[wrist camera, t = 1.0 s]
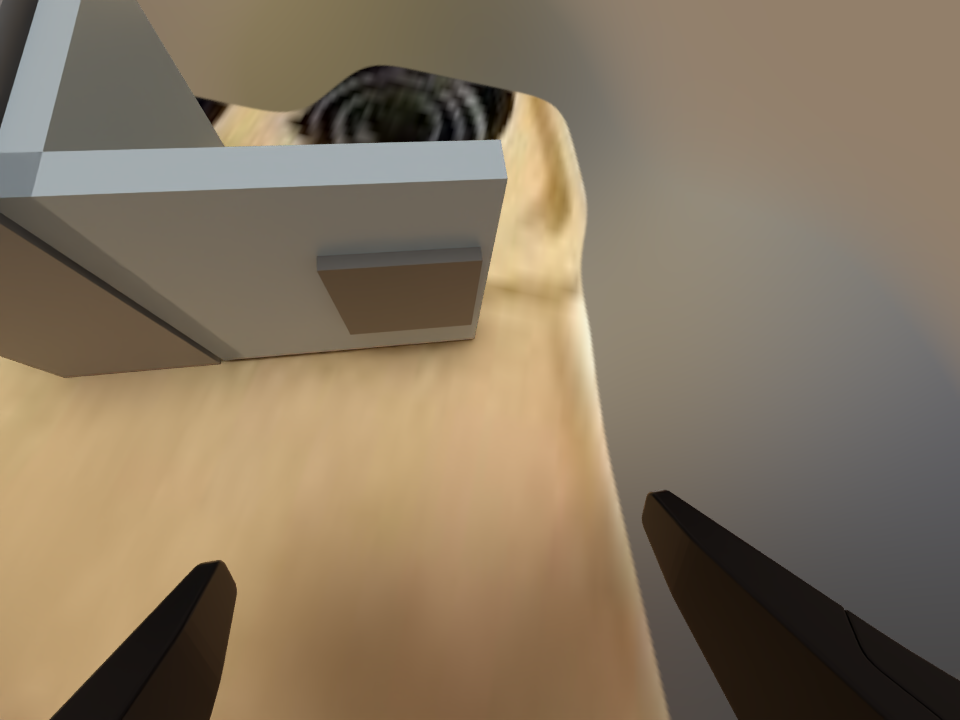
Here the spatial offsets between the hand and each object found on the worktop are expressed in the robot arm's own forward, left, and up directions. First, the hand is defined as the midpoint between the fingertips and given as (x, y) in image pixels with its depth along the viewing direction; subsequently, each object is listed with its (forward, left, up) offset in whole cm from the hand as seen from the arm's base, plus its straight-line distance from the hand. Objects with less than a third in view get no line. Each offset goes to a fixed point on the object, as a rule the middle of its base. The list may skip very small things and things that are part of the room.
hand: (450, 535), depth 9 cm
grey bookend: (+15, +2, -13) cm, 20 cm away
